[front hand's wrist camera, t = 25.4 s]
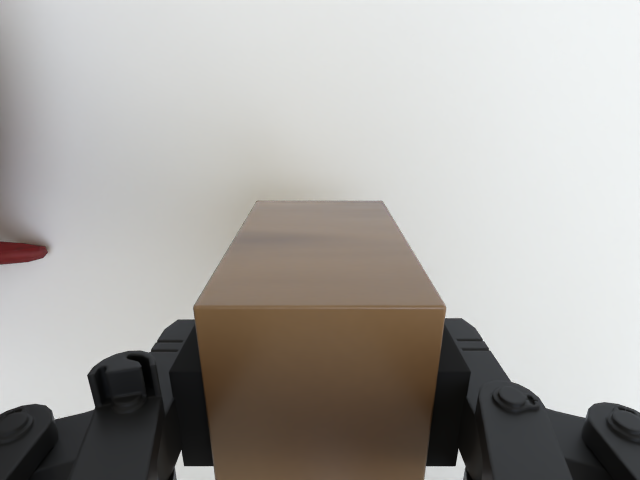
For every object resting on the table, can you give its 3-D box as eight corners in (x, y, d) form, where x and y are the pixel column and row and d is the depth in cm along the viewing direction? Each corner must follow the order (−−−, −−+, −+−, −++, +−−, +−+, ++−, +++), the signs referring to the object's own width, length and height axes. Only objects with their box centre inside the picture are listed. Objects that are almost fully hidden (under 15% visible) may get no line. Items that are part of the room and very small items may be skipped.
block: (375, 328, 17) (420, 515, 9) (263, 328, 17) (219, 515, 9) (383, 200, 15) (447, 306, 7) (256, 200, 15) (191, 306, 7)
